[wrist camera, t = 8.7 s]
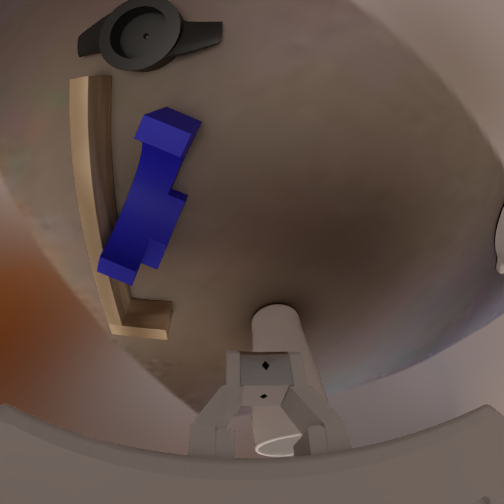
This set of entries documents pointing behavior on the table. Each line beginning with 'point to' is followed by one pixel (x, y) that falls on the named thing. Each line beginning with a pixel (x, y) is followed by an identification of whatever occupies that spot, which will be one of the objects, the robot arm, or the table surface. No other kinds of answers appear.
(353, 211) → the table surface
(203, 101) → the table surface
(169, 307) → the bar
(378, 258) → the table surface
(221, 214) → the table surface
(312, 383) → the drinking glass
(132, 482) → the robot arm
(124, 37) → the black winged round fixture
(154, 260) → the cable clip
